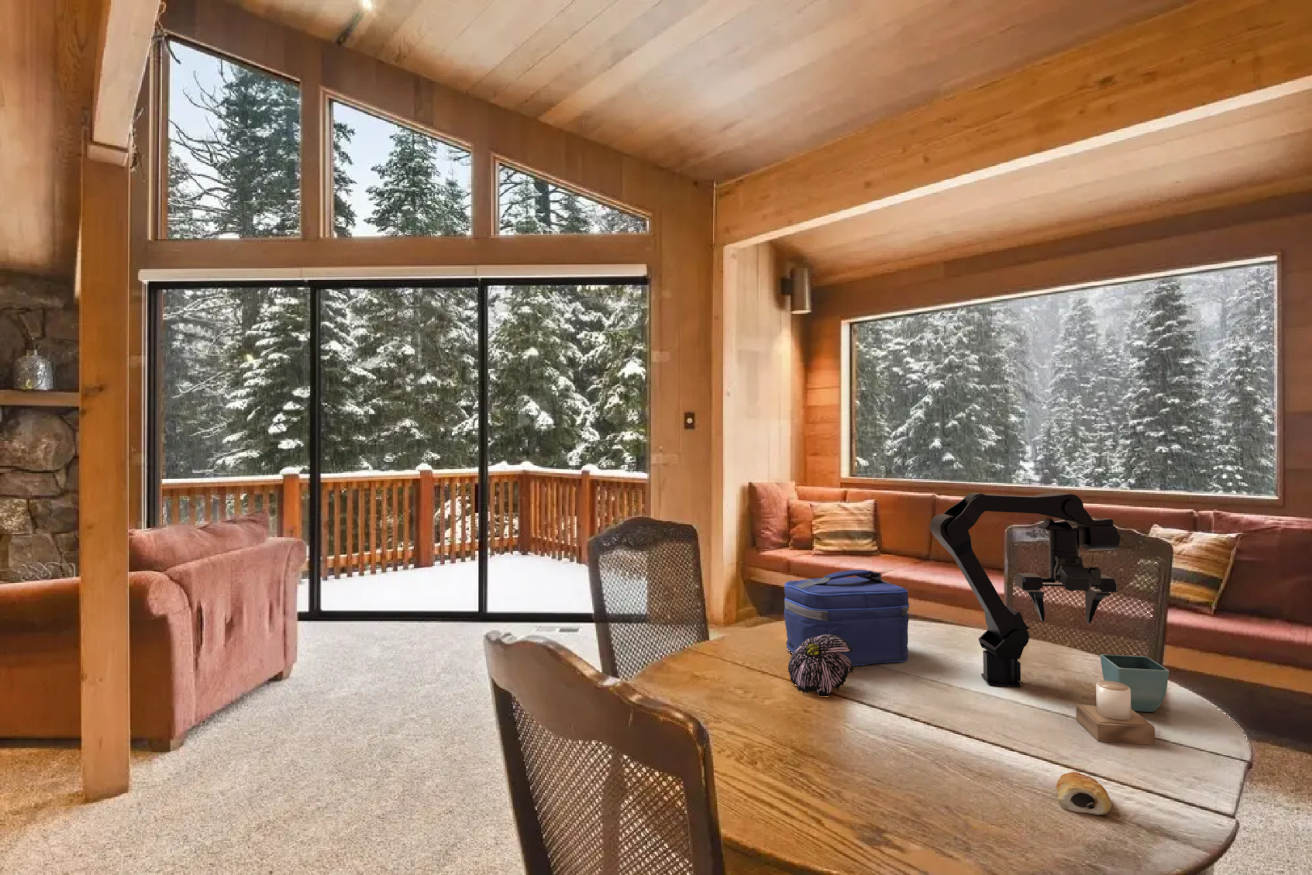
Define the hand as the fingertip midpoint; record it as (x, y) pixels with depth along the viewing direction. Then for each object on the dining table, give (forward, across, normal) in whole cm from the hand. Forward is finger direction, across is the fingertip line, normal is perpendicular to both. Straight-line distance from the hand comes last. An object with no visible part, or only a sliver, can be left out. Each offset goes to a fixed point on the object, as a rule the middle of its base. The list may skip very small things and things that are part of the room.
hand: (1065, 621), depth 149 cm
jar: (+10, -2, -26) cm, 28 cm away
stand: (+13, -2, -26) cm, 30 cm away
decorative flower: (+13, -53, -10) cm, 56 cm away
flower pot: (+13, +7, -14) cm, 20 cm away
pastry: (+14, -18, -53) cm, 57 cm away
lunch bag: (+13, -45, +14) cm, 49 cm away
